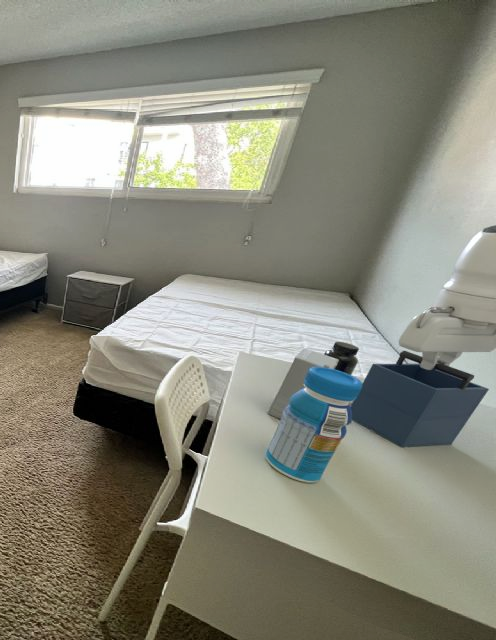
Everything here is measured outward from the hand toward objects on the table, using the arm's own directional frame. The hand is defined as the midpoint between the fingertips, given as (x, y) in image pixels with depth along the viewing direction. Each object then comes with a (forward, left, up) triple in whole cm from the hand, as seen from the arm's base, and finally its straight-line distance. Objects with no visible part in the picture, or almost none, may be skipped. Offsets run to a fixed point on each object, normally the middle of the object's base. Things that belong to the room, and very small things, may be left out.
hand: (432, 368), depth 74 cm
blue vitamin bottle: (+38, +9, -16) cm, 42 cm away
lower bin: (0, 0, -16) cm, 16 cm away
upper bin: (0, 0, -9) cm, 9 cm away
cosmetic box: (+22, -6, -16) cm, 28 cm away
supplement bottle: (-6, -20, -16) cm, 26 cm away
